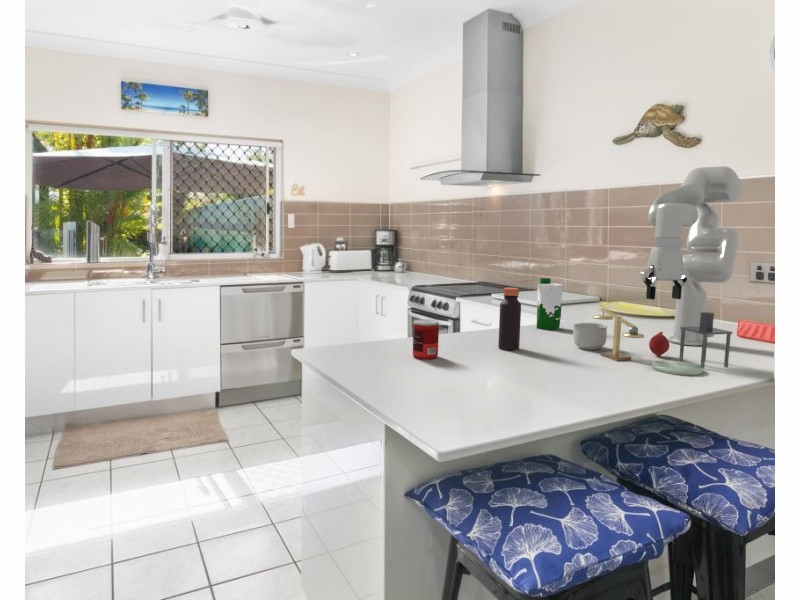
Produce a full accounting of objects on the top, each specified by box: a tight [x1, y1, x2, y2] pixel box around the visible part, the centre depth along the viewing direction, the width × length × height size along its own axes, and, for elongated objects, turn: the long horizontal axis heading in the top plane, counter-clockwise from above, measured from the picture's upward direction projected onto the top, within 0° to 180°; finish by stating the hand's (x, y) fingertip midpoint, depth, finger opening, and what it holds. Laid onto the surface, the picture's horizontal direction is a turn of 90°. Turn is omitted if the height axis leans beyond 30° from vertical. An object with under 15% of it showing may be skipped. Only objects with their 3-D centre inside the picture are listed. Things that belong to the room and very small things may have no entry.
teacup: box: [572, 322, 608, 351], centre depth 191 cm, size 14×11×8 cm
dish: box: [652, 359, 704, 376], centre depth 162 cm, size 13×13×1 cm
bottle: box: [497, 287, 522, 352], centre depth 185 cm, size 7×7×20 cm
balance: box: [592, 307, 645, 362], centre depth 175 cm, size 21×6×15 cm, turn 16°
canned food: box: [412, 318, 440, 360], centre depth 172 cm, size 8×8×11 cm
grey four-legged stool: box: [678, 311, 733, 370], centre depth 168 cm, size 10×10×16 cm
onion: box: [648, 331, 670, 357], centre depth 178 cm, size 6×6×8 cm
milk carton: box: [536, 277, 563, 331], centre depth 226 cm, size 9×9×20 cm
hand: (663, 298), depth 176 cm, fingers open, 9 cm apart
